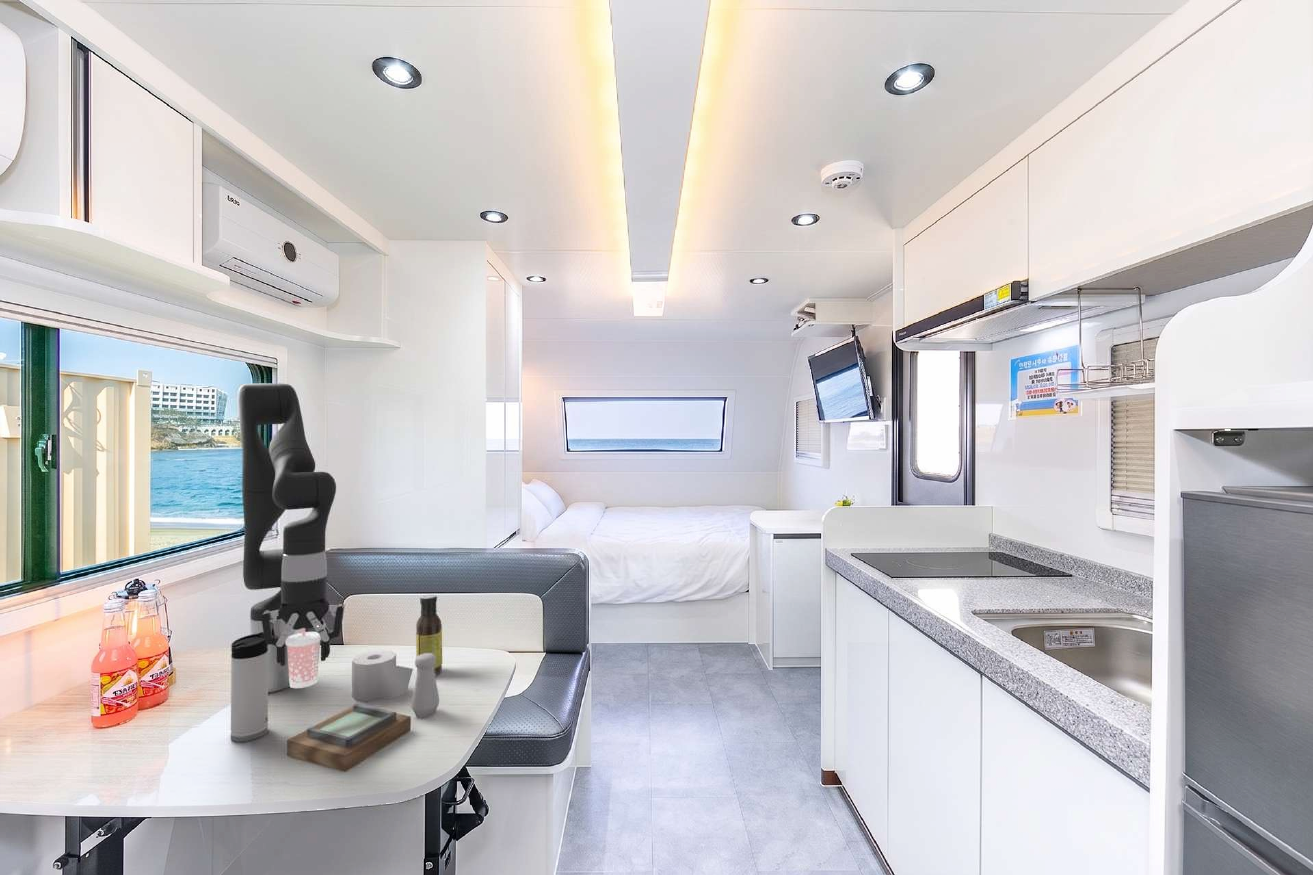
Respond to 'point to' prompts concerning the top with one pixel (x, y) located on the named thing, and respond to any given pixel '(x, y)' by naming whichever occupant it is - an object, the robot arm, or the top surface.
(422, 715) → the salt shaker
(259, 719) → the travel mug
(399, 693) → the toilet tissue
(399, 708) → the top surface
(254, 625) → the robot arm
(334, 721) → the dock
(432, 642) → the sauce bottle
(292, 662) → the beverage cup
